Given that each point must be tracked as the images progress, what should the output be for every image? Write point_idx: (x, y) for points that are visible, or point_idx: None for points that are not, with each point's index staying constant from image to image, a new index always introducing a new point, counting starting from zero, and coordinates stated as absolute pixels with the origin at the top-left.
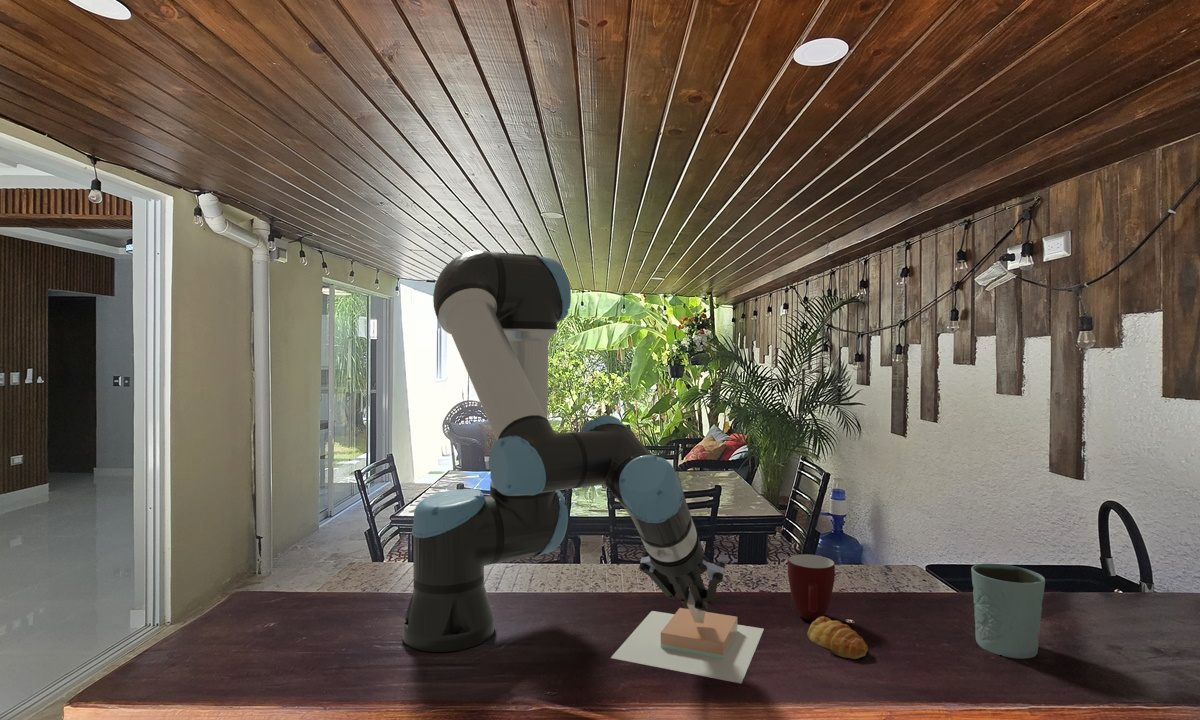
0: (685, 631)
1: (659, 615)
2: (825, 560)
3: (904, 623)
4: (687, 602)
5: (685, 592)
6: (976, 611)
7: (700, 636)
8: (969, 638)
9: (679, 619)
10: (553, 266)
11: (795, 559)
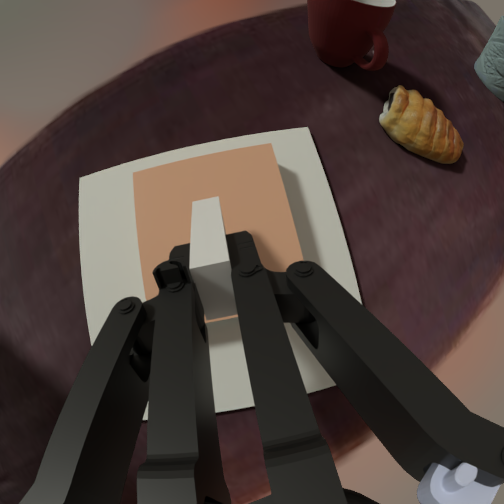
0: None
1: (98, 187)
2: None
3: (422, 51)
4: (206, 315)
5: (205, 347)
6: (500, 63)
7: None
8: (472, 72)
9: (156, 233)
10: None
11: None
